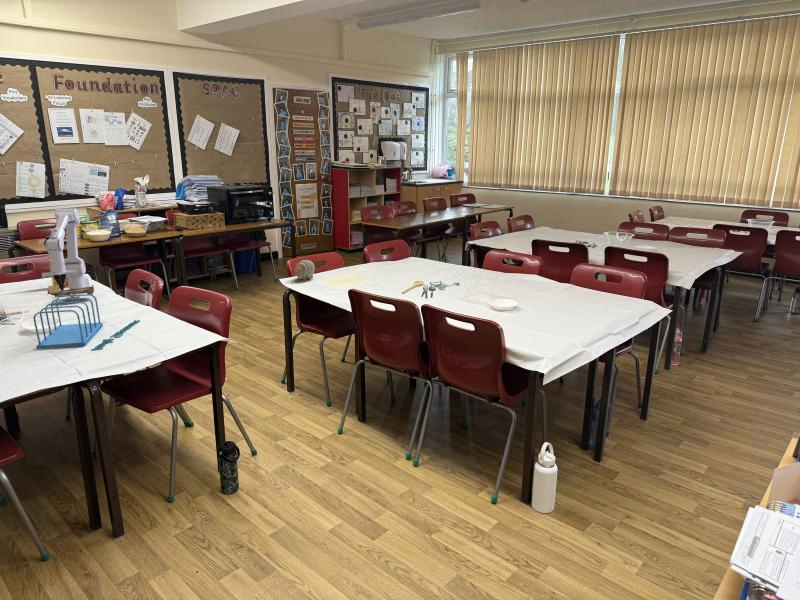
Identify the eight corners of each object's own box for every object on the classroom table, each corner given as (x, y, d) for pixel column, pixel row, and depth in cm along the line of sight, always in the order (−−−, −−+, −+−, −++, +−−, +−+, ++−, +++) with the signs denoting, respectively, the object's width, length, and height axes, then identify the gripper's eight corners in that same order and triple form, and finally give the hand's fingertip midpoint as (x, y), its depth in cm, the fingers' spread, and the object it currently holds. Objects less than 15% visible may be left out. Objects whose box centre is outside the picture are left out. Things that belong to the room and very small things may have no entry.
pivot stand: (65, 304, 277) (64, 294, 276) (66, 299, 286) (64, 288, 285) (79, 303, 280) (78, 292, 278) (79, 297, 289) (78, 287, 288)
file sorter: (60, 329, 243) (54, 295, 238) (103, 326, 246) (98, 293, 242) (36, 349, 219) (29, 312, 215) (85, 346, 223) (79, 309, 218)
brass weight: (49, 294, 276) (48, 287, 275) (49, 292, 279) (48, 286, 278) (59, 293, 278) (58, 286, 277) (59, 291, 281) (58, 284, 280)
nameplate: (88, 351, 218) (101, 351, 218) (88, 349, 218) (101, 349, 218) (132, 321, 254) (143, 321, 254) (132, 319, 253) (143, 320, 253)
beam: (48, 300, 275) (47, 293, 274) (49, 297, 281) (48, 290, 279) (94, 295, 285) (93, 287, 283) (94, 292, 290) (93, 284, 289)
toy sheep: (290, 281, 325) (289, 262, 322) (305, 274, 340) (304, 256, 337) (306, 282, 322) (306, 263, 319) (320, 276, 337) (320, 258, 334)
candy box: (53, 288, 306) (48, 261, 302) (53, 286, 310) (49, 259, 305) (72, 286, 310) (67, 259, 306) (72, 285, 314) (67, 258, 309)
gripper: (39, 266, 269) (44, 293, 273) (74, 263, 276) (78, 289, 280) (40, 263, 275) (45, 290, 279) (74, 260, 282) (78, 286, 286)
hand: (62, 289), depth 280 cm, fingers closed
